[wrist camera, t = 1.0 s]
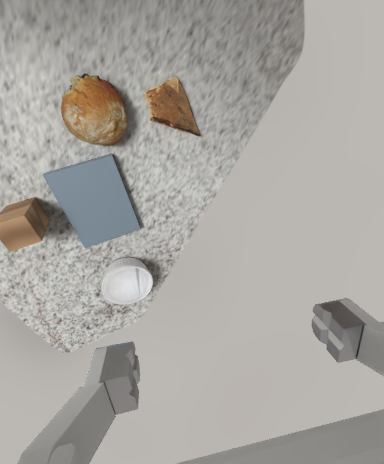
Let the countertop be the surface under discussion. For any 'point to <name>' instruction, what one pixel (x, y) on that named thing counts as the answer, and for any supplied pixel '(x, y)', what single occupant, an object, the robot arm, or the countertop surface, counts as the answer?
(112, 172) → the slate board
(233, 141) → the countertop surface
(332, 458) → the robot arm
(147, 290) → the ramekin
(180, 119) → the shard
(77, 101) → the bread roll
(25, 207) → the walnut block
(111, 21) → the countertop surface
